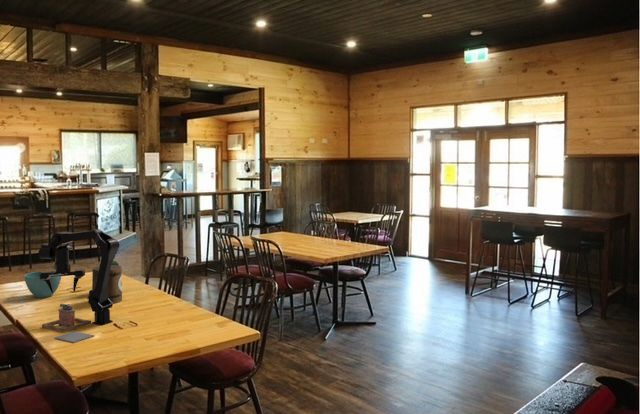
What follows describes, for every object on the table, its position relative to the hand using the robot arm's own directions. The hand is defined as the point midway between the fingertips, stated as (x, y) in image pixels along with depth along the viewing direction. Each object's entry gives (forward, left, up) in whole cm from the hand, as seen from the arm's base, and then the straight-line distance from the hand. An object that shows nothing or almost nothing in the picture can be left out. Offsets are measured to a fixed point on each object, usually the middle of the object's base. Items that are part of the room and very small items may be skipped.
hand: (63, 292), depth 255 cm
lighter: (-9, +6, -13) cm, 17 cm away
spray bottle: (+26, -50, -13) cm, 58 cm away
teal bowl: (+50, -26, -13) cm, 58 cm away
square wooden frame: (-9, +6, -13) cm, 17 cm away
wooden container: (+11, -35, -13) cm, 39 cm away
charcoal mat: (-26, +16, -13) cm, 33 cm away
